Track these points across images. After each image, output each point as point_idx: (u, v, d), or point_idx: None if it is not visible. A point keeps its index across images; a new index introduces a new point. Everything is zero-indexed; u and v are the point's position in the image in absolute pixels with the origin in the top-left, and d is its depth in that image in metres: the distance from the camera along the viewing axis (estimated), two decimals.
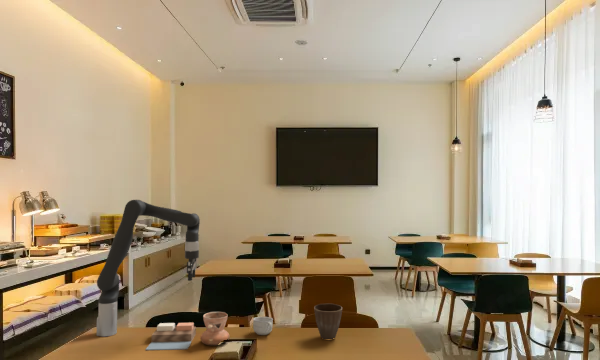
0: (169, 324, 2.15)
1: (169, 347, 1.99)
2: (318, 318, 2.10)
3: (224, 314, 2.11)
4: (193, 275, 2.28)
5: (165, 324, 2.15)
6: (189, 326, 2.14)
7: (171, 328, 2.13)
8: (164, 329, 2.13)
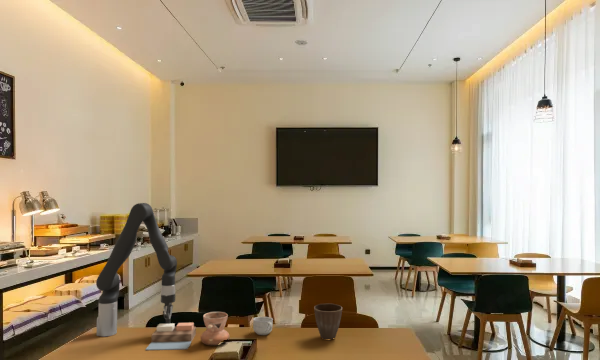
0: (169, 324, 2.15)
1: (169, 347, 1.99)
2: (318, 318, 2.10)
3: (224, 314, 2.11)
4: None
5: (165, 324, 2.15)
6: (189, 326, 2.14)
7: (171, 329, 2.12)
8: (164, 329, 2.12)
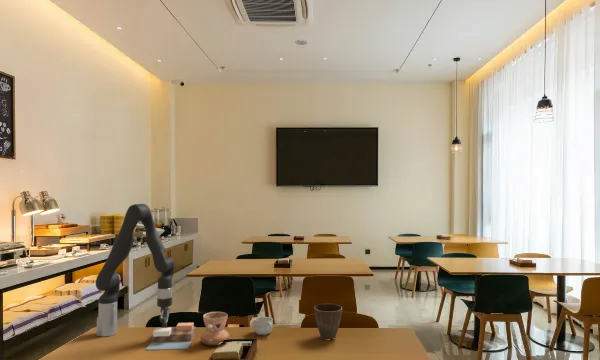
0: (165, 329, 2.07)
1: (169, 347, 1.99)
2: (318, 318, 2.10)
3: (224, 314, 2.11)
4: (165, 327, 2.11)
5: (161, 329, 2.07)
6: (189, 326, 2.14)
7: (168, 333, 2.05)
8: (160, 334, 2.05)
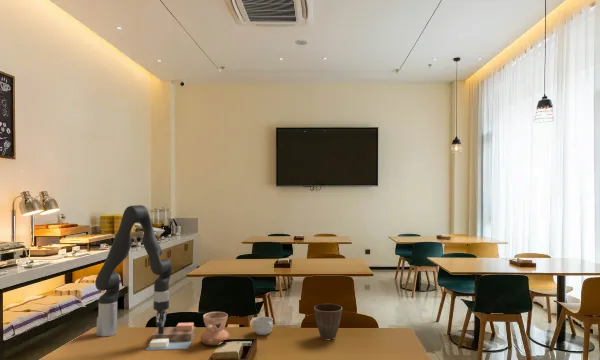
0: None
1: (169, 347, 1.99)
2: (318, 318, 2.10)
3: (224, 314, 2.11)
4: None
5: None
6: (189, 326, 2.14)
7: None
8: None
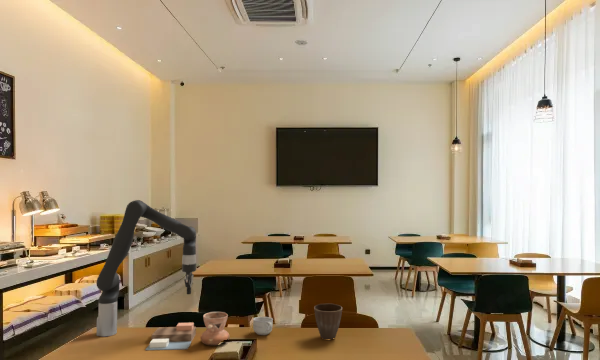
0: None
1: (169, 347, 1.99)
2: (318, 318, 2.10)
3: (224, 314, 2.11)
4: None
5: None
6: (189, 326, 2.14)
7: None
8: None
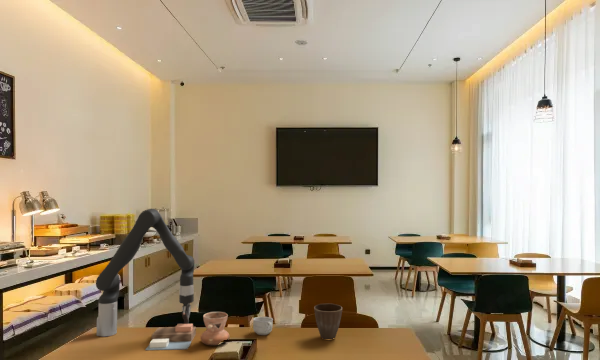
0: None
1: (169, 347, 1.99)
2: (318, 318, 2.10)
3: (224, 314, 2.11)
4: (186, 323, 2.18)
5: None
6: (189, 327, 2.12)
7: None
8: None
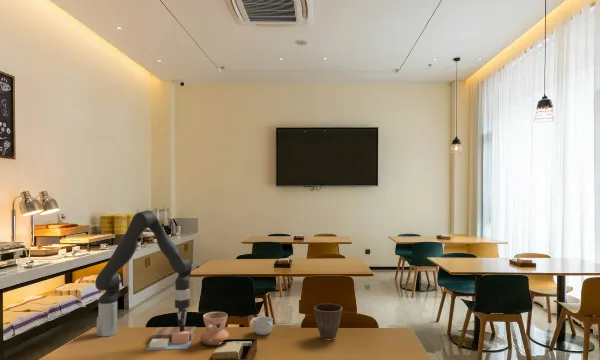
0: None
1: (169, 347, 1.99)
2: (318, 318, 2.10)
3: (224, 314, 2.11)
4: None
5: None
6: None
7: None
8: None
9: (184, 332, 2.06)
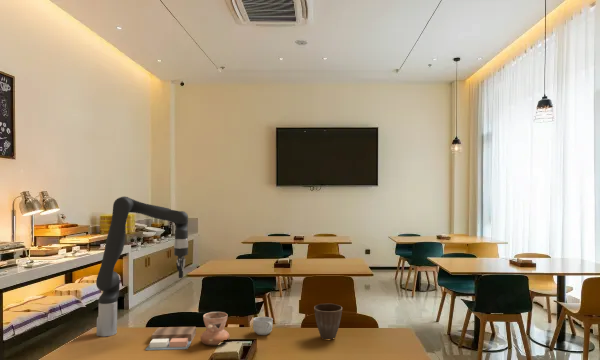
0: None
1: (169, 347, 1.99)
2: (318, 318, 2.10)
3: (224, 314, 2.11)
4: None
5: None
6: None
7: None
8: None
9: (181, 344, 2.00)
